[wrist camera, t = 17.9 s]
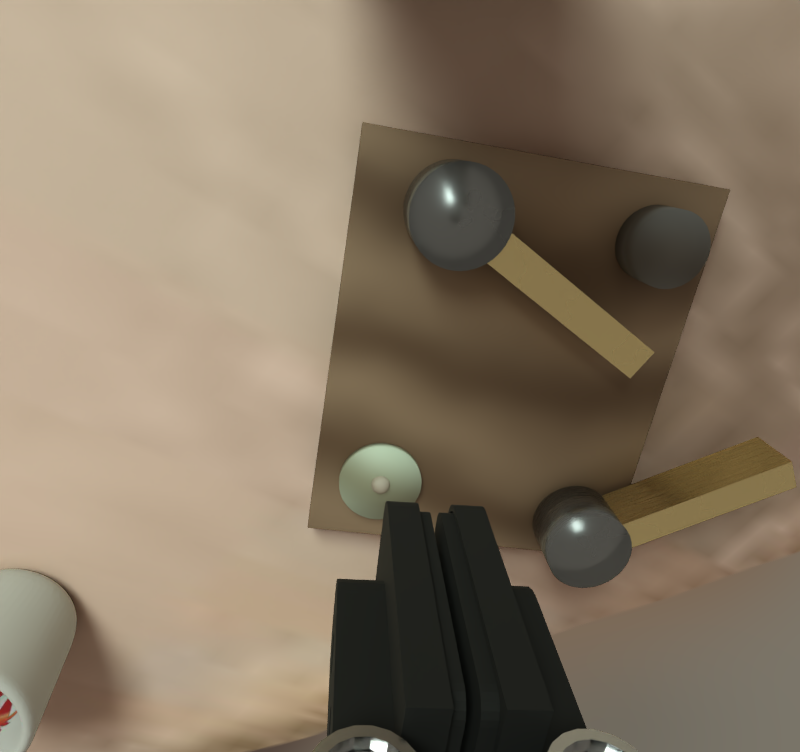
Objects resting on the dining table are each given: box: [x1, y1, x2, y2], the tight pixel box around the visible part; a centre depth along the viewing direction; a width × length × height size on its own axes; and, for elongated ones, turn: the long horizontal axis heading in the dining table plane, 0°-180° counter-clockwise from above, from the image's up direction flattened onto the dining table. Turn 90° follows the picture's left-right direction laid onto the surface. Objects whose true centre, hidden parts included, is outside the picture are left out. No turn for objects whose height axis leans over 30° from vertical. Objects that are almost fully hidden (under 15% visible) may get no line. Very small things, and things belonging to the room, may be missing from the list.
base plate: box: [308, 122, 730, 551], centre depth 31 cm, size 21×18×4 cm
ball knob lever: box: [403, 159, 655, 378], centre depth 28 cm, size 13×4×3 cm, turn 52°
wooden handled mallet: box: [532, 437, 796, 588], centre depth 33 cm, size 13×4×3 cm, turn 112°
